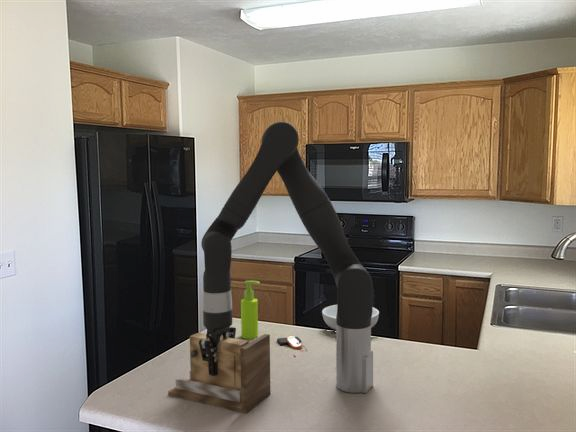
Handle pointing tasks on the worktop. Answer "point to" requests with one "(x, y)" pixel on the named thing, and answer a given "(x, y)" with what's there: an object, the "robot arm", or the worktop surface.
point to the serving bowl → (331, 313)
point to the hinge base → (252, 381)
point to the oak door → (225, 363)
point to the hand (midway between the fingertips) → (219, 371)
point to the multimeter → (291, 342)
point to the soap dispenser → (249, 313)
